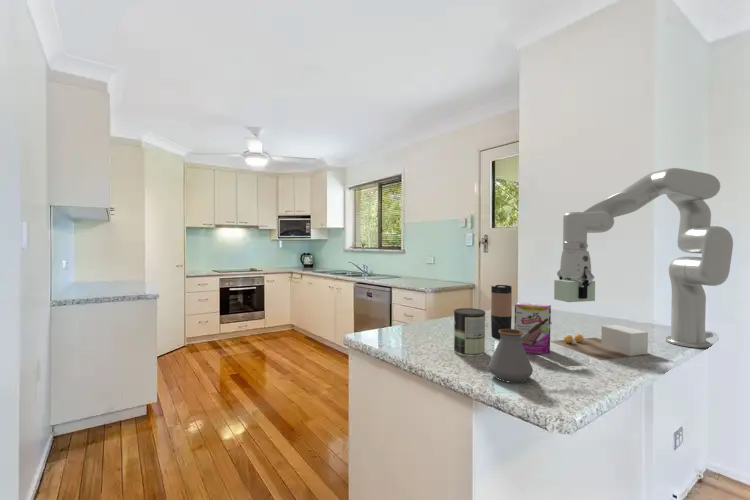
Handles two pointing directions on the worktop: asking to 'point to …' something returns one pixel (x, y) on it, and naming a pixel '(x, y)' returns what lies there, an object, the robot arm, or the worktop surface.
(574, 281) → the pale green block
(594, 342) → the walnut board
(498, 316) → the travel mug
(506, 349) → the coffee pot
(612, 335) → the white block
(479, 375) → the worktop surface
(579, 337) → the marble
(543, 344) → the candy bar box
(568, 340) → the marble
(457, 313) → the coffee can
